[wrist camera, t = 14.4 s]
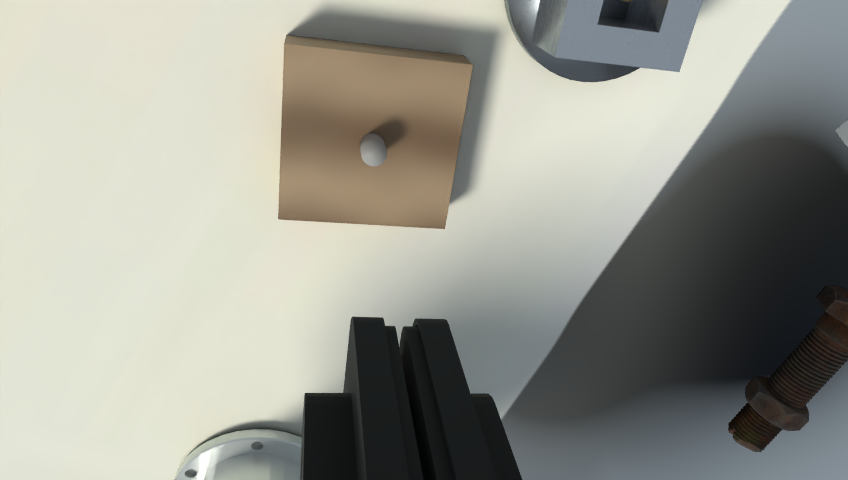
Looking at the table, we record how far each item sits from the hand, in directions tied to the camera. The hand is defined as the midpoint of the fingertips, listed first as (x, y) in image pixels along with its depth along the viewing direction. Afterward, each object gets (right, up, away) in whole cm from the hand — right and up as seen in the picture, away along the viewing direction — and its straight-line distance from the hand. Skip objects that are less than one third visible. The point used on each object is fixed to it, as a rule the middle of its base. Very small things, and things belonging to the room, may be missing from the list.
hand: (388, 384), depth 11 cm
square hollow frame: (+11, +17, +23) cm, 30 cm away
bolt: (+31, -7, +41) cm, 52 cm away
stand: (-3, +9, +26) cm, 27 cm away
